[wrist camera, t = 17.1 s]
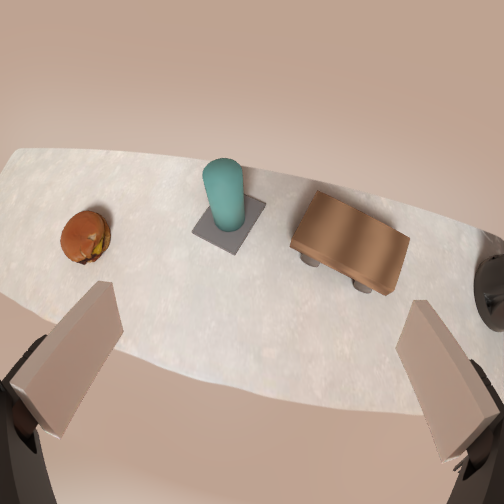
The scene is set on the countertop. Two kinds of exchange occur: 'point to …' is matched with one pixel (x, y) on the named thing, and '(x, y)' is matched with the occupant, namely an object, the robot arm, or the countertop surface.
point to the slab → (351, 244)
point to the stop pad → (229, 239)
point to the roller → (225, 193)
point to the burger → (85, 237)
